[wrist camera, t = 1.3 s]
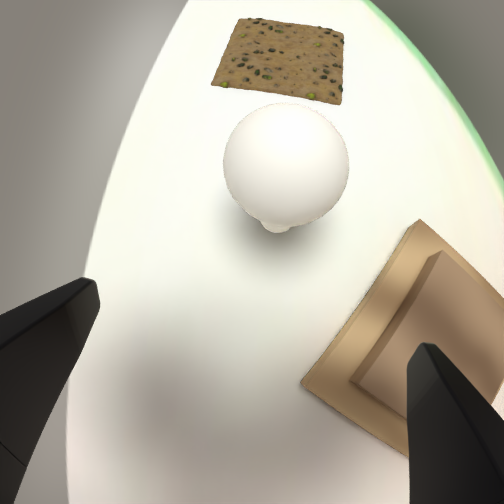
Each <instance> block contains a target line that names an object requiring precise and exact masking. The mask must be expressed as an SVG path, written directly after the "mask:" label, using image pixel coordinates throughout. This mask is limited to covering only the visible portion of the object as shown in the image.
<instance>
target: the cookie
mask: <svg viewBox="0 0 504 504" xmlns="http://www.w3.org/2000/svg"><path fill="white" fill-rule="evenodd" d="M343 40H344V35H343V33H340V32H337V31H334V30H332V29H329V28H322V27H321V26H318V27H316V26H310V25H301V24H294V23H283V22H279V21H273V20H265V19H262V18H256V19H251V18H248V19H239V20H238V22H237V24H236V26H235V28H234V31H233V33H232V34H231V37H230V40H229V43H228V44H227V48H226V50H225V51H224V54H223V56H222V58H221V62H220V64H219V67H218V68H217V71H216V73H215V76H214V79H213V81H212V83H211V85H212V86H221V87H223V88H228V87H231V88H237V89H244V90H257V91H263V92H268V93H277V94H282V95H288V96H294V97H301V98H305V99H309V100H316V101H321V102H324V103H329V104H334V105H340V104H341V101H342V91H343V88H342V84H343V79H342V74H343V44H344V41H343Z"/></svg>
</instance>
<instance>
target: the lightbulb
mask: <svg viewBox="0 0 504 504" xmlns="http://www.w3.org/2000/svg"><path fill="white" fill-rule="evenodd" d="M223 171H224V177H225V180H226V184H227V187H228V189H229V191H230V193H231V195H232V197H233V198H234V199H235V200H236V202H237V203H238V204H239V205H240V206H241V207H242V209H243V210H244V211H246V212H247V213H248V214H250V215H251V216H252V217H254V218H256V219H258V220H260V222H261V224H262V225H263V226H264V228H266V229H267V230H269V231H270V232H274V233H282V232H285V231H287V230H288V229H290V228H291V227H292V226H300V225H303V224H307V223H310V222H312V221H314V220H316V219H318V218H320V217H321V216H323V215H324V214H326V213H327V212H328V211H329V210H331V209H332V208H333V206H334V205H335V204H336V203H337V201H338V200H339V199H340V197H341V195H342V193H343V191H344V189H345V187H346V184H347V179H348V174H349V157H348V152H347V148H346V144H345V142H344V140H343V138H342V136H341V134H340V133H339V131H338V130H337V129H336V127H335V126H334V125H333V124H332V122H330V121H329V120H328V119H327V118H326V117H325V116H324V115H322V114H320V113H319V112H317V111H316V110H313V109H311V108H309V107H306V106H303V105H299V104H293V103H276V104H271V105H267V106H264V107H262V108H259V109H257V110H256V111H254V112H252V113H250V114H249V115H247V116H246V117H245V118H244V119H243V120H241V121H240V122H239V123H238V125H237V126H236V127H235V129H234V130H233V132H232V133H231V135H230V137H229V139H228V142H227V144H226V148H225V153H224V158H223Z"/></svg>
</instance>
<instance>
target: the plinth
mask: <svg viewBox="0 0 504 504" xmlns="http://www.w3.org/2000/svg"><path fill="white" fill-rule="evenodd" d="M422 342H429V343H434V344H436V345H437V346H438V347H439V348H440V349H441V350H442V352H443V353H444V354H445V355H446V356H447V357H448V358H449V359H450V360H451V361H452V362H453V363H454V364H455V366H456V367H457V368H458V369H459V370H460V371H461V372H462V373H463V374H464V375H465V377H466V378H467V379H468V380H469V381H470V382H471V383H472V384H473V385H474V387H475V388H476V389H477V390H478V391H479V392H480V393H481V395H482V396H483V397H484V398H485V399H486V400H487V401H488V403H489V404H490V405H491V404H492V403H493V401H494V399H495V397H496V395H497V393H498V392H499V390H500V388H501V386H502V384H503V382H504V298H503V297H502V296H501V295H500V294H499V293H498V292H497V291H496V290H495V289H494V288H493V287H492V286H491V285H490V284H489V283H488V282H487V281H486V279H485V278H484V277H483V276H482V275H481V274H480V273H479V272H478V271H477V270H476V269H474V268H473V267H472V266H471V265H470V264H469V263H468V262H467V261H466V260H465V259H464V258H463V257H462V256H461V255H460V254H459V253H458V252H457V251H456V250H455V249H454V248H452V247H451V246H450V245H449V244H448V243H447V242H446V241H445V240H444V239H443V238H441V237H440V236H439V235H438V234H437V233H436V232H435V231H434V230H432V229H431V228H430V227H429V226H428V225H427V224H425V223H424V222H423V221H422V220H421V219H419V220H418V221H416V222H415V223H414V224H412V225H411V226H410V227H409V228H408V229H407V231H406V233H405V234H404V236H403V238H402V239H401V241H400V243H399V244H398V246H397V247H396V249H395V251H394V252H393V254H392V256H391V257H390V259H389V260H388V262H387V263H386V265H385V267H384V268H383V270H382V271H381V273H380V274H379V276H378V277H377V279H376V280H375V282H374V283H373V285H372V286H371V288H370V289H369V291H368V292H367V294H366V295H365V297H364V298H363V300H362V301H361V303H360V304H359V305H358V307H357V308H356V310H355V311H354V313H353V314H352V315H351V317H350V318H349V320H348V321H347V322H346V324H345V325H344V327H343V328H342V329H341V331H340V332H339V333H338V335H337V336H336V337H335V339H334V340H333V341H332V343H331V344H330V345H329V347H328V348H327V349H326V351H325V352H324V353H323V355H322V356H321V357H320V358H319V360H318V361H317V362H316V363H315V365H314V366H313V367H312V369H311V370H310V371H309V372H308V374H307V375H306V376H305V377H304V378H303V380H302V381H301V382H300V383H301V384H302V385H303V386H304V387H305V388H307V389H308V390H309V391H311V392H312V393H313V394H315V395H316V396H318V397H319V398H320V399H322V400H323V401H324V402H326V403H327V404H329V405H330V406H332V407H333V408H334V409H336V410H337V411H339V412H340V413H342V414H343V415H344V416H346V417H347V418H349V419H350V420H352V421H353V422H355V423H356V424H357V425H359V426H360V427H362V428H363V429H365V430H366V431H368V432H369V433H371V434H372V435H374V436H375V437H377V438H378V439H380V440H382V441H383V442H385V443H386V444H388V445H389V446H391V447H392V448H394V449H396V450H397V451H399V452H400V453H402V454H403V455H405V456H407V457H408V458H409V448H408V432H407V416H406V406H407V373H406V370H407V364H408V361H409V360H410V358H411V357H412V355H413V353H414V352H415V350H416V349H417V347H418V345H419V344H420V343H422Z"/></svg>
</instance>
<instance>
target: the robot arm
mask: <svg viewBox="0 0 504 504" xmlns="http://www.w3.org/2000/svg"><path fill="white" fill-rule="evenodd" d="M99 309H100V299H99V294H98V289H97V284H96V282H95V281H94V280H92V279H89V278H85V277H81V278H79V279H77V280H74V281H72V282H70V283H68V284H66V285H63V286H61V287H59V288H57V289H55V290H52V291H50V292H48V293H46V294H44V295H41V296H39V297H37V298H35V299H33V300H31V301H29V302H27V303H24V304H22V305H20V306H18V307H16V308H14V309H12V310H10V311H8V312H6V313H4V314H1V315H0V504H14V501H15V498H16V495H17V493H18V490H19V487H20V485H21V482H22V479H23V477H24V474H25V472H26V469H27V466H28V464H29V461H30V459H31V456H32V454H33V452H34V449H35V447H36V445H37V442H38V440H39V438H40V436H41V433H42V431H43V429H44V427H45V424H46V422H47V420H48V418H49V416H50V414H51V412H52V409H53V408H54V405H55V403H56V401H57V399H58V397H59V395H60V393H61V391H62V389H63V387H64V385H65V383H66V381H67V379H68V377H69V375H70V373H71V372H72V370H73V368H74V366H75V364H76V362H77V360H78V358H79V356H80V354H81V352H82V350H83V348H84V345H85V343H86V340H87V338H88V336H89V333H90V331H91V328H92V326H93V324H94V321H95V319H96V317H97V315H98V312H99ZM406 373H407V406H406V416H407V432H408V448H409V479H410V504H504V420H503V419H502V418H501V417H500V415H499V414H498V413H497V412H496V411H495V410H494V408H493V407H492V406H491V405H490V404H489V403H488V401H487V400H486V399H485V398H484V397H483V396H482V395H481V393H480V392H479V391H478V390H477V389H476V388H475V387H474V385H473V384H472V383H471V382H470V381H469V380H468V379H467V378H466V377H465V375H464V374H463V373H462V372H461V371H460V370H459V369H458V368H457V367H456V366H455V364H454V363H453V362H452V361H451V360H450V359H449V358H448V357H447V356H446V355H445V354H444V353H443V352H442V350H441V349H440V348H439V347H438V346H437V345H436V344H434V343H429V342H422V343H420V344H419V345H418V347H417V349H416V350H415V352H414V353H413V355H412V357H411V358H410V360H409V361H408V364H407V370H406Z"/></svg>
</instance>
